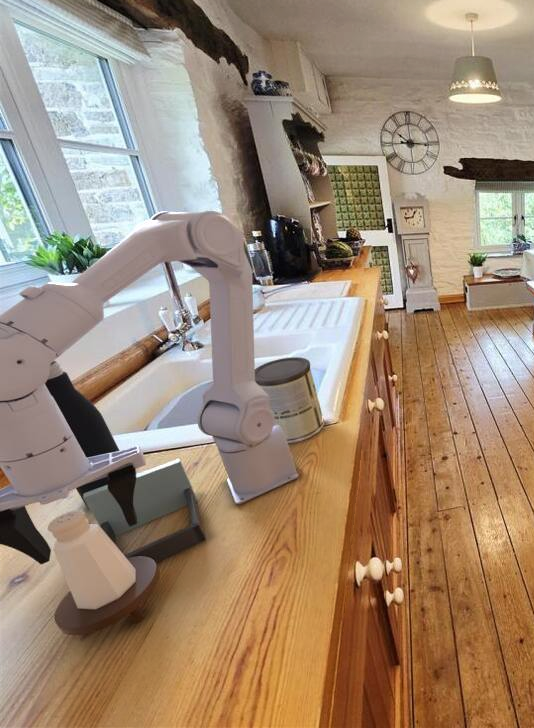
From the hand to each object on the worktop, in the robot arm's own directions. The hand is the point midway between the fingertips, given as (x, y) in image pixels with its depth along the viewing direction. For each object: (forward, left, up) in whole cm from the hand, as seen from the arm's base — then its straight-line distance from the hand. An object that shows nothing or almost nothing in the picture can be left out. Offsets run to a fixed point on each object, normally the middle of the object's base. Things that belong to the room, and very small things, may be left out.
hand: (91, 538), depth 49 cm
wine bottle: (+1, -24, -9) cm, 26 cm away
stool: (0, +4, -9) cm, 10 cm away
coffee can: (-28, -22, -9) cm, 37 cm away
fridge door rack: (-4, -7, -9) cm, 12 cm away
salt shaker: (0, +4, -5) cm, 6 cm away
